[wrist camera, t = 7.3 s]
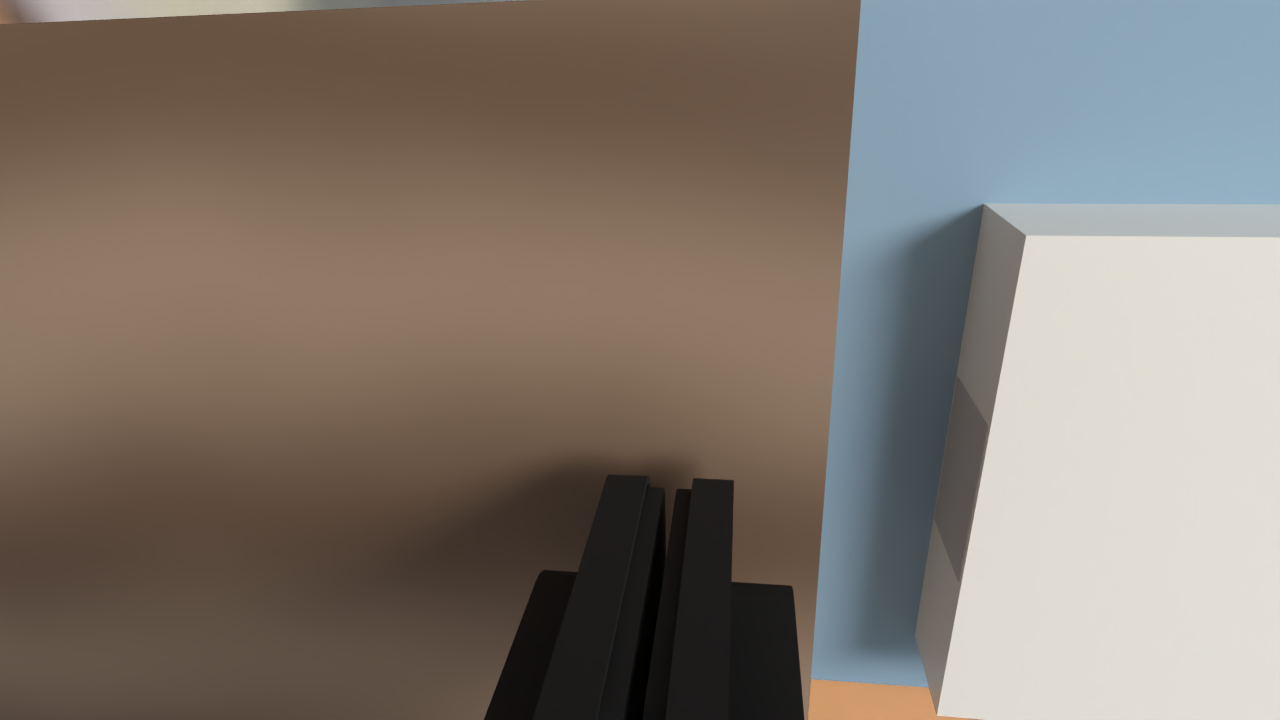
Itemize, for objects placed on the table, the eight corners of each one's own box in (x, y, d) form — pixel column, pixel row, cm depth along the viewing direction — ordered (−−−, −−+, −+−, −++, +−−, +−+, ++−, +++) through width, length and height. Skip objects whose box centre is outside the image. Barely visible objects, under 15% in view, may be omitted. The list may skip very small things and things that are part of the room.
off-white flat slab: (1533, 238, 9) (1406, 204, 11) (1024, 235, 10) (982, 203, 12) (1297, 746, 13) (1229, 658, 15) (935, 715, 14) (913, 635, 16)
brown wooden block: (-186, 41, 14) (-518, 47, 10) (825, -3, 11) (862, -15, 8) (74, 631, 19) (-80, 771, 16) (786, 683, 17) (797, 862, 13)
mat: (827, -40, 11) (829, -42, 11) (1788, -88, 10) (1819, -92, 9) (787, 666, 17) (787, 677, 17) (1389, 709, 15) (1400, 721, 15)
